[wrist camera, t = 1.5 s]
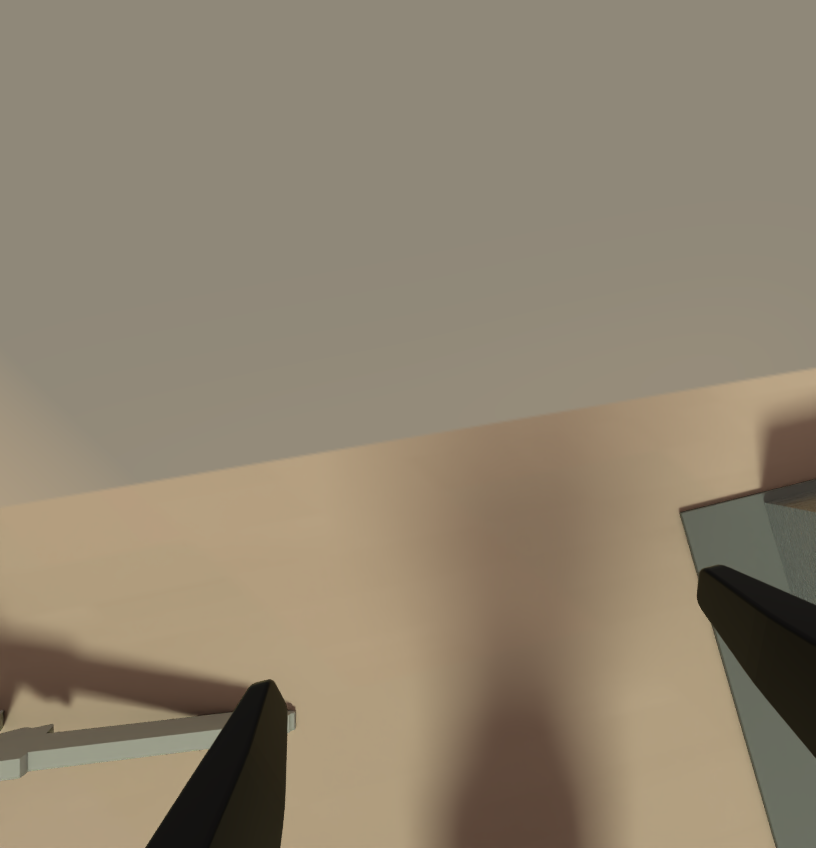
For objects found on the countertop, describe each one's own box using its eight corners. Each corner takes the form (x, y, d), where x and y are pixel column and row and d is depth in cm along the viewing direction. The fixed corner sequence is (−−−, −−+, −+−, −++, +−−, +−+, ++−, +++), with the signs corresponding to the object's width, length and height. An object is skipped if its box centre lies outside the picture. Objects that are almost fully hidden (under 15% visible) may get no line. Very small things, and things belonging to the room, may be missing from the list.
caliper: (-28, 724, 26) (-177, 817, 19) (-28, 706, 26) (-177, 794, 19) (297, 724, 25) (252, 823, 18) (297, 706, 25) (251, 798, 18)
